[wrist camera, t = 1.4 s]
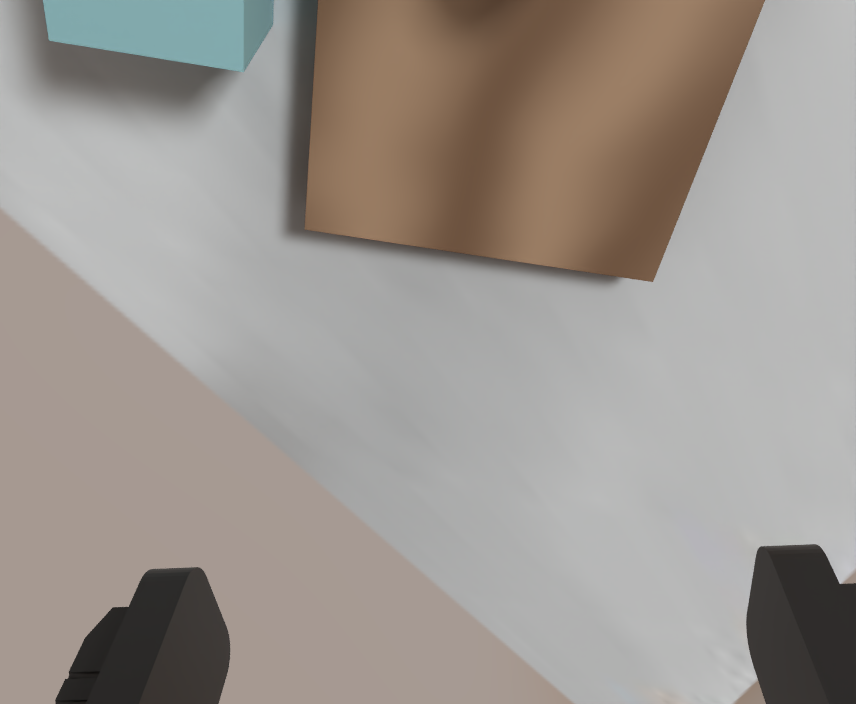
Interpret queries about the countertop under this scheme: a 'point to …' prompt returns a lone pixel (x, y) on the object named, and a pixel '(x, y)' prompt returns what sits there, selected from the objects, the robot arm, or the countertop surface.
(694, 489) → the countertop surface
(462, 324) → the countertop surface
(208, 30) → the teal slotted block
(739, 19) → the jig
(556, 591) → the countertop surface
